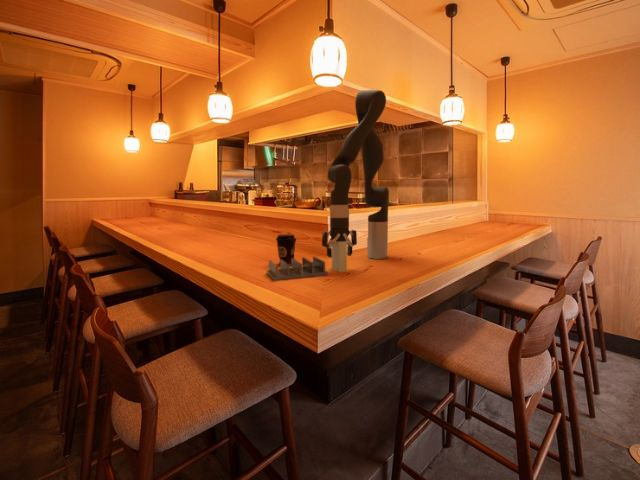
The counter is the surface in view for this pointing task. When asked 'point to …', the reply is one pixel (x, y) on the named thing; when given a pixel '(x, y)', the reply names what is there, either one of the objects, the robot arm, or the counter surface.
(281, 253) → the coffee cup
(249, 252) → the counter surface
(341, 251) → the tall cream pillar
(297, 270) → the dish rack
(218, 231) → the counter surface
